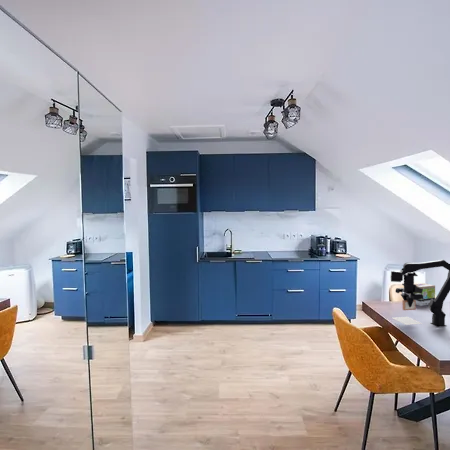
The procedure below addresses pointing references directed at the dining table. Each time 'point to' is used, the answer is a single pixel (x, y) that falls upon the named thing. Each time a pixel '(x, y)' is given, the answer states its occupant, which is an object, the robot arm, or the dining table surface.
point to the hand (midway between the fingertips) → (408, 306)
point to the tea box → (426, 294)
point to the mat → (407, 320)
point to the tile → (406, 306)
